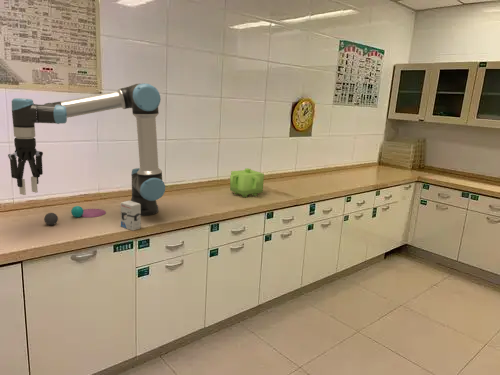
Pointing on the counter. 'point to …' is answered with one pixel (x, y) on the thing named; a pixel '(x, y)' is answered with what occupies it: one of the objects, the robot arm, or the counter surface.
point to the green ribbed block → (246, 182)
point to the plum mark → (93, 212)
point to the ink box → (131, 215)
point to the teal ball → (77, 211)
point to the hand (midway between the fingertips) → (28, 193)
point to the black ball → (51, 219)
